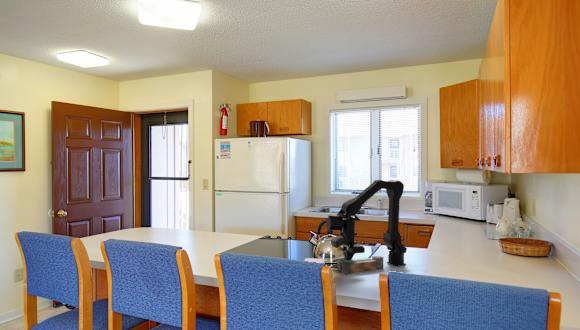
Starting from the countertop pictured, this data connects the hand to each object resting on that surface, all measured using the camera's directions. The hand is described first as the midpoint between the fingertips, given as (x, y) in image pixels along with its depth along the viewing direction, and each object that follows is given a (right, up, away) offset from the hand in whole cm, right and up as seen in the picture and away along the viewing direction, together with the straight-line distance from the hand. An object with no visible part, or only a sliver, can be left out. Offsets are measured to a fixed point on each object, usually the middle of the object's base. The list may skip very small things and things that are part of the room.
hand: (347, 264), depth 172 cm
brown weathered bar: (+3, -2, -2) cm, 4 cm away
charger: (-16, -2, -7) cm, 18 cm away
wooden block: (+6, -2, -3) cm, 7 cm away
